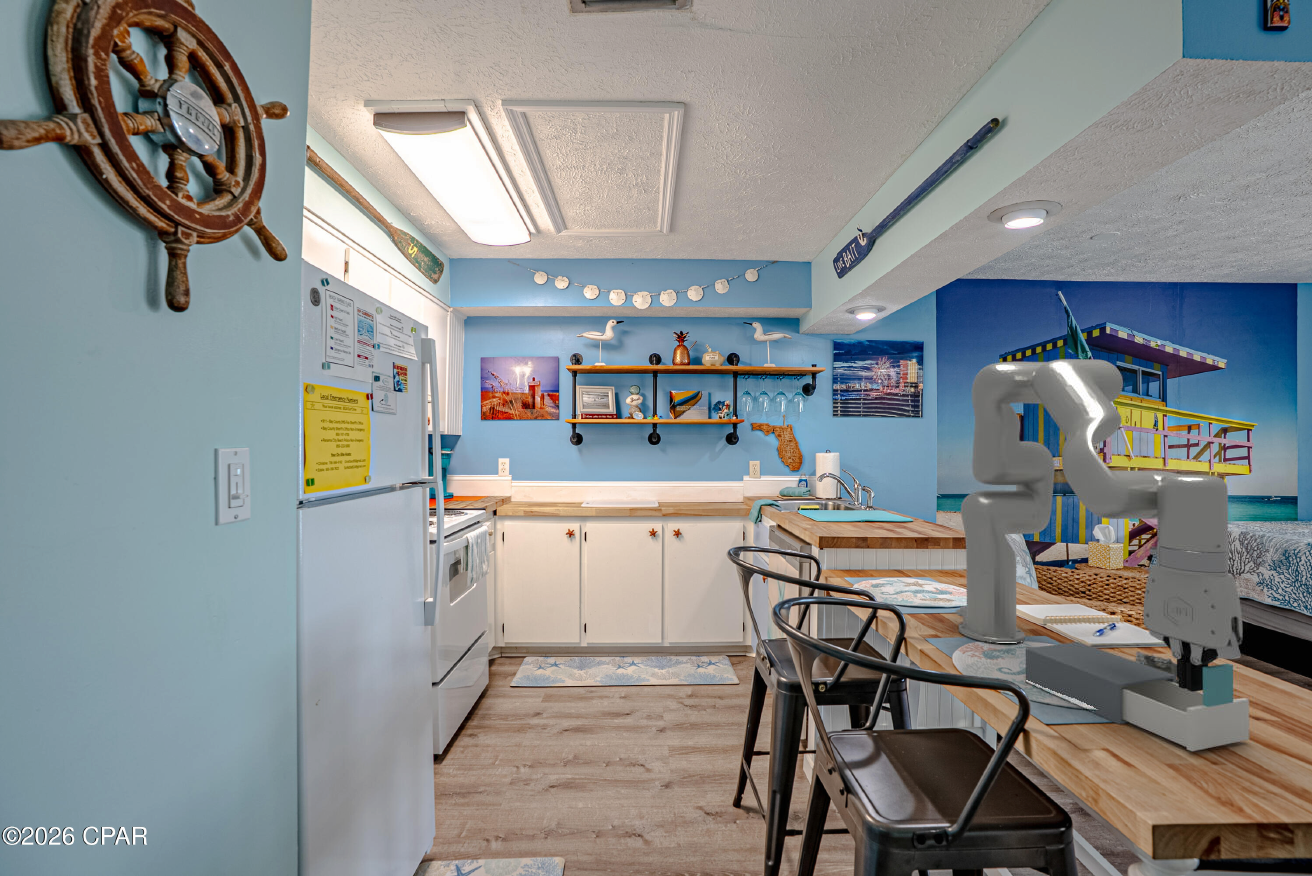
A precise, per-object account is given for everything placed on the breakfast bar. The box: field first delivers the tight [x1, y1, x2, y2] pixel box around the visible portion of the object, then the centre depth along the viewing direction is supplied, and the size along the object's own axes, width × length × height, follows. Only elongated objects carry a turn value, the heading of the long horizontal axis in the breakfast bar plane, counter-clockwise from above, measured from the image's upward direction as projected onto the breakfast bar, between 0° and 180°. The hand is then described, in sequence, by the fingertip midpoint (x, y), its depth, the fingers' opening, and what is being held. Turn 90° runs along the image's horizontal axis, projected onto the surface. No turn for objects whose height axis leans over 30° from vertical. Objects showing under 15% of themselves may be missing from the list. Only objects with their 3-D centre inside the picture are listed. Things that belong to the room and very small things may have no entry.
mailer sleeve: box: [1025, 641, 1177, 725], centre depth 98 cm, size 16×12×6 cm
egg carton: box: [1135, 651, 1178, 684], centre depth 104 cm, size 11×8×4 cm
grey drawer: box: [1122, 663, 1250, 752], centre depth 90 cm, size 16×11×11 cm
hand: (1192, 688), depth 85 cm, fingers closed
